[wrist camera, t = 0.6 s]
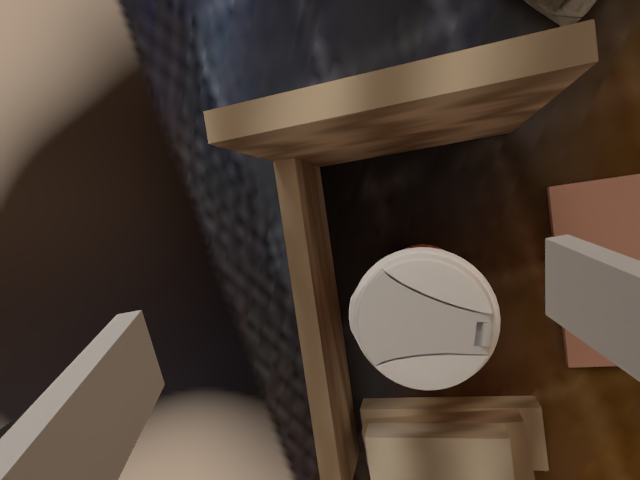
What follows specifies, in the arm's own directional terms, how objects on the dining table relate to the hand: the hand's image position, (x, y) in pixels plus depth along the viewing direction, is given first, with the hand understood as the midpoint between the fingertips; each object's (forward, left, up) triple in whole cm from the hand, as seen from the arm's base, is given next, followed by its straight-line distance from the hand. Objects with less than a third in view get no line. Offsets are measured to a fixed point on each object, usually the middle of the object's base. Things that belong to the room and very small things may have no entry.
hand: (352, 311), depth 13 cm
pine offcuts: (+6, +15, -22) cm, 27 cm away
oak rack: (+1, +5, -22) cm, 22 cm away
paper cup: (0, +3, -22) cm, 22 cm away
